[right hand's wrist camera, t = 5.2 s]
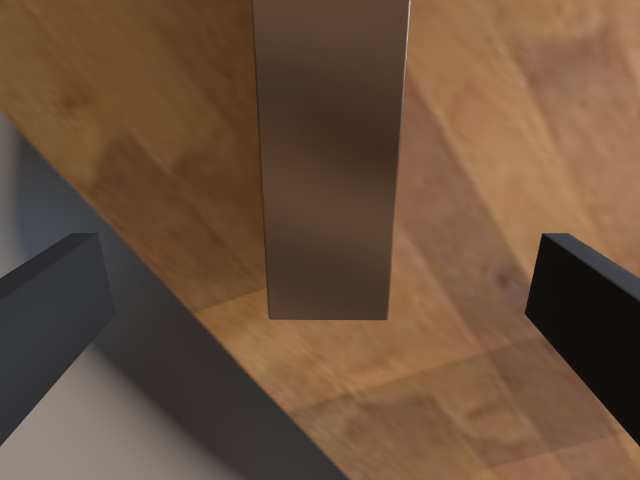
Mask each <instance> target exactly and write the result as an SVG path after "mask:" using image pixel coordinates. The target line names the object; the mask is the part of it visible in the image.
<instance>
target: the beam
mask: <svg viewBox="0 0 640 480" xmlns="http://www.w3.org/2000/svg"><path fill="white" fill-rule="evenodd" d="M251 2H252V20H253V39H254V57H255V76H256V94H257V113H258V131H259V150H260V168H261V187H262V205H263V224H264V242H265V261H266V279H267V297H268V316H269V319H296V320H387V319H388V310H389V296H390V282H391V268H392V254H393V240H394V226H395V212H396V199H397V185H398V171H399V157H400V143H401V129H402V115H403V101H404V87H405V73H406V59H407V46H408V32H409V18H410V4H411V0H251Z"/></svg>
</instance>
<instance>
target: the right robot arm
mask: <svg viewBox="0 0 640 480" xmlns="http://www.w3.org/2000/svg"><path fill="white" fill-rule="evenodd" d="M114 315H115V310H114V306H113V301H112V297H111V292H110V287H109V283H108V278H107V274H106V269H105V264H104V260H103V255H102V251H101V246H100V241H99V237H98V234H97V233H72V234H70V235H69V236H67V237H65V238H64V239H62V240H61V241H59V242H57V243H56V244H54V245H53V246H51V247H49V248H48V249H46V250H45V251H43V252H42V253H40V254H38V255H37V256H35V257H34V258H32V259H30V260H29V261H27V262H26V263H24V264H22V265H21V266H19V267H18V268H16V269H14V270H13V271H11V272H10V273H8V274H7V275H5V276H3V277H2V278H0V446H1V445H2V444H3V443H4V442H5V441H6V439H7V438H8V437H9V436H10V435H11V434H12V432H13V431H14V430H15V429H16V428H17V427H18V426H19V424H20V423H21V422H22V421H23V420H24V419H25V417H26V416H27V415H28V414H29V413H30V412H31V411H32V409H33V408H34V407H35V406H36V405H37V404H38V402H39V401H40V400H41V399H42V398H43V397H44V395H45V394H46V393H47V392H48V391H49V390H50V389H51V387H52V386H53V385H54V384H55V383H56V382H57V380H58V379H59V378H60V377H61V376H62V375H63V374H64V372H65V371H66V370H67V369H68V368H69V367H70V365H71V364H72V363H73V362H74V361H75V360H76V359H77V357H78V356H79V355H80V354H81V353H82V352H83V350H84V349H85V348H86V347H87V346H88V345H89V344H90V342H91V341H92V340H93V339H94V338H95V337H96V335H97V334H98V333H99V332H100V331H101V330H102V329H103V327H104V326H105V325H106V324H107V323H108V322H109V320H110V319H111V318H112V317H113V316H114ZM525 315H526V316H527V317H528V318H529V319H530V320H531V322H532V323H533V324H534V325H535V326H536V327H537V329H538V330H539V331H540V332H541V333H542V334H543V335H544V337H545V338H546V339H547V340H548V341H549V342H550V344H551V345H552V346H553V347H554V348H555V349H556V350H557V352H558V353H559V354H560V355H561V356H562V357H563V359H564V360H565V361H566V362H567V363H568V364H569V365H570V367H571V368H572V369H573V370H574V371H575V372H576V374H577V375H578V376H579V377H580V378H581V379H582V381H583V382H584V383H585V384H586V385H587V386H588V387H589V389H590V390H591V391H592V392H593V393H594V394H595V396H596V397H597V398H598V399H599V400H600V401H601V402H602V404H603V405H604V406H605V407H606V408H607V409H608V411H609V412H610V413H611V414H612V415H613V416H614V417H615V419H616V420H617V421H618V422H619V423H620V424H621V426H622V427H623V428H624V429H625V430H626V431H627V432H628V434H629V435H630V436H631V437H632V438H633V439H634V441H635V442H636V443H637V444H638V445H639V446H640V278H638V277H637V276H635V275H633V274H632V273H630V272H629V271H627V270H625V269H624V268H622V267H621V266H619V265H618V264H616V263H614V262H613V261H611V260H610V259H608V258H606V257H605V256H603V255H602V254H600V253H598V252H597V251H595V250H594V249H592V248H591V247H589V246H587V245H586V244H584V243H583V242H581V241H579V240H578V239H576V238H575V237H573V236H571V235H570V234H568V233H542V237H541V241H540V246H539V251H538V255H537V260H536V264H535V269H534V274H533V278H532V283H531V287H530V292H529V297H528V301H527V306H526V310H525Z"/></svg>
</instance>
